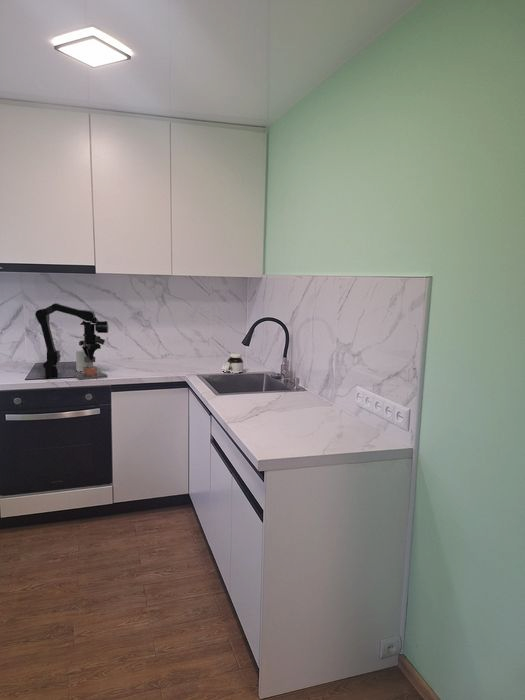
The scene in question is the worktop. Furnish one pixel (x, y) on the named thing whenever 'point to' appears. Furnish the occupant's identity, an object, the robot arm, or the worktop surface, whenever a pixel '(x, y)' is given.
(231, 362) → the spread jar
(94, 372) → the stand base
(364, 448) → the worktop surface
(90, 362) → the jack column
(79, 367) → the supplement box
